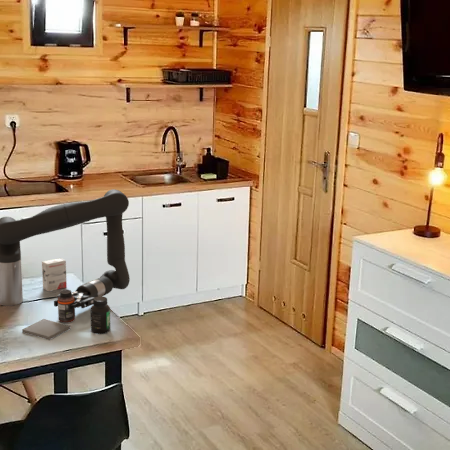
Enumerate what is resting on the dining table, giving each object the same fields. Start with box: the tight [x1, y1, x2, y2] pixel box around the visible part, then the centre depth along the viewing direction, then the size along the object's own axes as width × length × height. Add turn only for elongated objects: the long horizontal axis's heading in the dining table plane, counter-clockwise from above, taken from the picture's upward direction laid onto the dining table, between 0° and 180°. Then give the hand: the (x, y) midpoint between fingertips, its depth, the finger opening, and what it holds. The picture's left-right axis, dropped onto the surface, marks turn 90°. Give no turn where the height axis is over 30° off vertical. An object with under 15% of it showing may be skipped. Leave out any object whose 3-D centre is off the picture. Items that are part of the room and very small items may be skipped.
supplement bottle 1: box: [57, 289, 76, 324], centre depth 256 cm, size 6×6×11 cm
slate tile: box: [21, 318, 71, 341], centre depth 248 cm, size 12×11×1 cm
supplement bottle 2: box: [90, 296, 111, 335], centre depth 249 cm, size 7×7×12 cm
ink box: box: [41, 257, 68, 292], centre depth 288 cm, size 9×5×12 cm, turn 130°
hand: (62, 305), depth 254 cm, fingers closed on supplement bottle 1, 6 cm apart
